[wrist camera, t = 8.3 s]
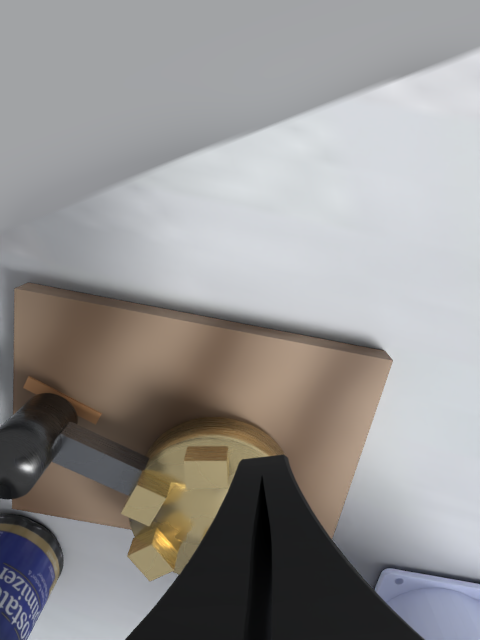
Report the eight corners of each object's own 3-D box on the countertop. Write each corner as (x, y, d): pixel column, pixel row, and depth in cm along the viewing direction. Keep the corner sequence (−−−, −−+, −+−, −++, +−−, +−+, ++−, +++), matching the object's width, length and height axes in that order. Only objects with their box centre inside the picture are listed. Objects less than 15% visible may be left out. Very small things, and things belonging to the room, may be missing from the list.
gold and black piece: (321, 459, 20) (340, 534, 16) (247, 561, 23) (245, 652, 18) (61, 331, 19) (0, 376, 14) (9, 456, 21) (-57, 528, 17)
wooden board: (385, 350, 20) (393, 361, 19) (320, 545, 24) (324, 565, 23) (28, 282, 20) (13, 288, 18) (23, 493, 24) (11, 510, 23)
